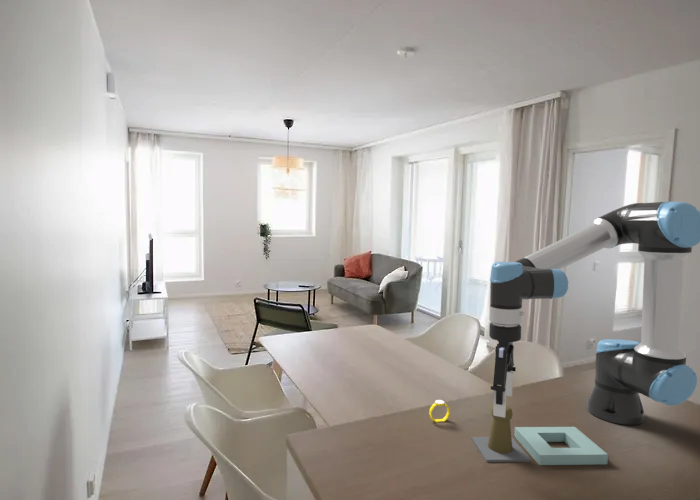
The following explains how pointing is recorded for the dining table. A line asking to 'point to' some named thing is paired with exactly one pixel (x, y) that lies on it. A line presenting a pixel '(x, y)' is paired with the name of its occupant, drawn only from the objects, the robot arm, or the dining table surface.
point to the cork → (501, 432)
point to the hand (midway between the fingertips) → (503, 405)
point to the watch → (439, 403)
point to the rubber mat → (493, 456)
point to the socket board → (544, 454)
